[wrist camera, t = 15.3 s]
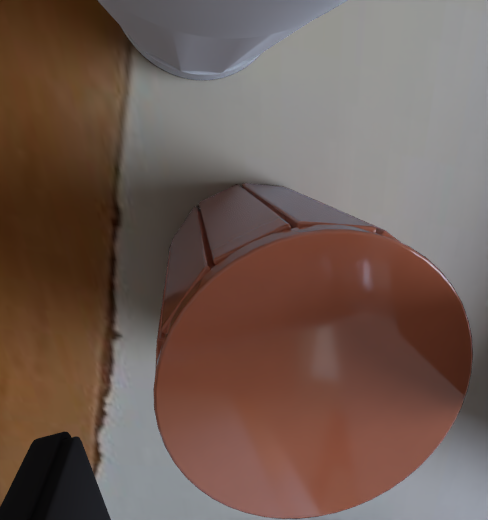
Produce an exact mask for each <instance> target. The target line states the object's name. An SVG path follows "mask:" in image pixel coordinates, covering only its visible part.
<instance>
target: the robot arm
mask: <svg viewBox="0 0 488 520" xmlns="http://www.w3.org/2000/svg"><path fill="white" fill-rule="evenodd" d="M0 520H111V519H110V517H109V514H108V511H107V508H106V506H105V503H104V500H103V498H102V495H101V492H100V490H99V487H98V484H97V482H96V479H95V476H94V474H93V471H92V468H91V466H90V463H89V460H88V458H87V455H86V452H85V449H84V447H83V444H82V442H81V440H80V438H79V437H73V438H71V436H70V434H69V433H68V432H61V433H57V434H54V435H50V436H46V437H42V438H38V439H36V440H34V441H33V443H32V444H31V446H30V448H29V450H28V452H27V454H26V456H25V458H24V460H23V462H22V464H21V466H20V468H19V470H18V472H17V474H16V476H15V478H14V480H13V483H12V485H11V487H10V489H9V491H8V493H7V495H6V497H5V499H4V501H3V503H2V505H1V507H0Z"/></svg>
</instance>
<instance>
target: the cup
mask: <svg viewBox="0 0 488 520" xmlns="http://www.w3.org/2000/svg"><path fill="white" fill-rule="evenodd" d="M346 1H347V0H98V2H99V3H100V4H101V5H102V6H103V7H104V8H105V9H106V10H107V12H108V13H109V14H110V15H111V16H112V17H113V18H114V19H115V20H116V21H117V23H118V24H119V25H120V26H121V28H122V29H123V31H124V33H125V34H126V36H127V37H128V39H129V40H130V41H131V43H132V44H133V45H134V46H135V47H136V49H137V50H138V51H139V52H140V53H141V54H142V55H143V56H144V57H146V58H147V59H148V60H149V61H150V62H152V63H153V64H155V65H156V66H158V67H159V68H161V69H163V70H165V71H167V72H169V73H171V74H173V75H176V76H179V77H183V78H187V79H193V80H213V79H219V78H223V77H226V76H229V75H232V74H234V73H236V72H238V71H240V70H242V69H243V68H245V67H247V66H248V65H249V64H251V63H252V62H253V61H254V60H255V59H256V58H257V57H258V56H259V55H260V54H261V53H262V52H264V51H265V50H267V49H269V48H270V47H272V46H273V45H275V44H276V43H278V42H279V41H281V40H282V39H284V38H286V37H287V36H289V35H290V34H292V33H293V32H295V31H296V30H298V29H300V28H301V27H303V26H304V25H306V24H307V23H309V22H310V21H312V20H314V19H316V18H318V17H320V16H321V15H323V14H325V13H327V12H329V11H330V10H332V9H334V8H335V7H337V6H339V5H340V4H342V3H344V2H346Z"/></svg>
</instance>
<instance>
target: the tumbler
mask: <svg viewBox="0 0 488 520" xmlns="http://www.w3.org/2000/svg"><path fill="white" fill-rule="evenodd" d="M199 206H200V208H198V207H197V206H194V208H193V209H192V211H191V212H190V214H189V215H188V217H187V218H186V220H185V221H184V223H183V224H182V225H181V227H180V228H179V230H178V231H177V233H176V234H175V236H174V237H173V239H172V242H171V245H170V247H169V255H168V262H167V269H166V277H165V284H164V291H163V299H162V306H161V314H160V321H159V328H158V336H157V349H156V374H155V382H154V410H155V415H156V420H157V425H158V429H159V432H160V435H161V437H162V440H163V443H164V445H165V447H166V449H167V451H168V453H169V454H170V456H171V458H172V460H173V461H174V463H175V464H176V465H177V467H178V468H179V469H180V471H181V472H182V473H183V474H184V476H185V477H186V478H187V479H188V480H190V481H191V482H192V483H193V484H194V485H195V486H196V487H197V488H198V489H199V490H201V491H202V492H204V493H205V494H207V495H208V496H210V497H211V498H212V499H214V500H216V501H218V502H220V503H222V504H224V505H226V506H228V507H231V508H233V509H236V510H239V511H242V512H245V513H249V514H253V515H258V516H262V517H270V518H280V519H300V518H309V517H318V516H323V515H328V514H332V513H337V512H340V511H343V510H346V509H349V508H352V507H355V506H358V505H360V504H362V503H365V502H367V501H369V500H372V499H373V498H375V497H377V496H379V495H381V494H383V493H384V492H386V491H388V490H390V489H391V488H392V487H394V486H395V485H397V484H398V483H400V482H401V481H403V480H404V479H405V478H407V477H408V476H409V475H410V474H411V473H413V472H414V471H415V470H416V469H417V468H419V467H420V466H421V465H422V463H423V462H424V461H425V460H426V459H427V458H428V457H429V456H430V455H431V454H432V453H433V452H434V451H435V449H436V448H437V447H438V446H439V444H440V443H441V442H442V441H443V439H444V438H445V436H446V435H447V433H448V431H449V430H450V428H451V427H452V425H453V424H454V422H455V419H456V417H457V415H458V413H459V411H460V409H461V407H462V404H463V402H464V399H465V396H466V393H467V390H468V386H469V381H470V376H471V371H472V359H473V349H472V335H471V330H470V326H469V321H468V318H467V315H466V312H465V309H464V307H463V304H462V302H461V300H460V298H459V296H458V295H457V293H456V291H455V289H454V287H453V286H452V284H451V283H450V282H449V281H448V279H447V278H446V277H445V275H444V274H443V273H442V272H441V271H440V270H439V269H438V268H437V267H436V266H435V265H434V264H433V263H432V262H431V261H430V260H428V259H427V258H426V257H425V256H423V255H422V254H420V253H419V252H417V251H415V250H414V249H412V248H411V247H409V246H407V245H405V244H403V243H401V242H400V241H398V240H397V239H396V238H395V237H393V236H392V235H391V234H389V233H388V232H387V231H385V230H383V229H381V228H379V227H377V226H374V225H372V224H370V223H367V222H365V221H363V220H360V219H358V218H356V217H354V216H351V215H349V214H347V213H344V212H342V211H340V210H338V209H335V208H333V207H331V206H328V205H326V204H324V203H321V202H319V201H317V200H315V199H312V198H310V197H308V196H305V195H303V194H301V193H299V192H296V191H294V190H292V189H289V188H286V187H284V186H274V185H263V184H251V183H242V187H241V186H240V185H238V184H236V185H234V186H232V187H230V188H228V189H226V190H223V191H221V192H219V193H217V194H215V195H213V196H211V197H209V198H207V199H205V200H203V201H201V202H199Z"/></svg>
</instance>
